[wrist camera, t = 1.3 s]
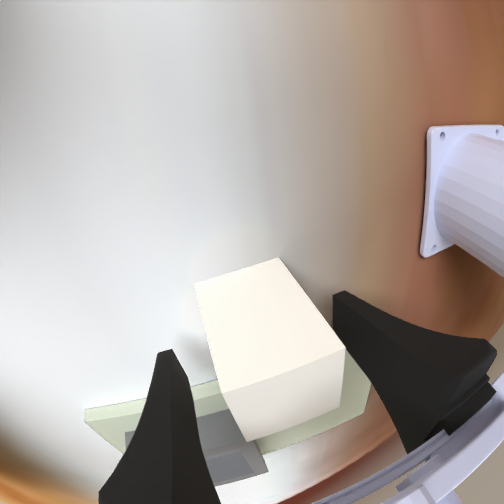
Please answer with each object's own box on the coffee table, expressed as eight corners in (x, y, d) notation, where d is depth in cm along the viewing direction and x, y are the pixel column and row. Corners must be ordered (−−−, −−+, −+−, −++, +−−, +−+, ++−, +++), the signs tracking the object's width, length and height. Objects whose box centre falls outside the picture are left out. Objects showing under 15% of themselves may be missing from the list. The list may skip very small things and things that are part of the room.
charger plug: (278, 257, 14) (345, 347, 9) (287, 319, 16) (339, 406, 11) (193, 283, 13) (221, 393, 8) (215, 343, 15) (246, 442, 10)
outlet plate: (374, 319, 18) (405, 354, 15) (358, 405, 24) (375, 432, 21) (84, 409, 15) (83, 454, 12) (157, 469, 21) (163, 500, 18)
